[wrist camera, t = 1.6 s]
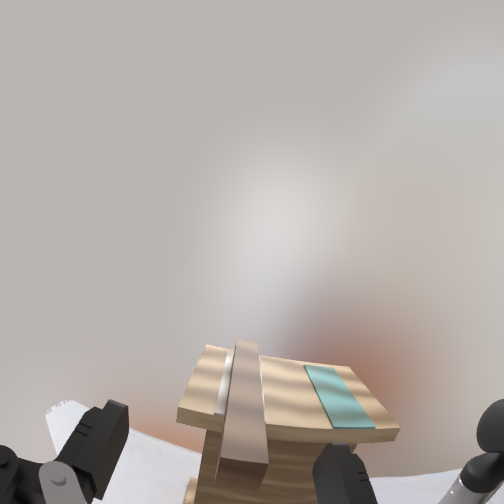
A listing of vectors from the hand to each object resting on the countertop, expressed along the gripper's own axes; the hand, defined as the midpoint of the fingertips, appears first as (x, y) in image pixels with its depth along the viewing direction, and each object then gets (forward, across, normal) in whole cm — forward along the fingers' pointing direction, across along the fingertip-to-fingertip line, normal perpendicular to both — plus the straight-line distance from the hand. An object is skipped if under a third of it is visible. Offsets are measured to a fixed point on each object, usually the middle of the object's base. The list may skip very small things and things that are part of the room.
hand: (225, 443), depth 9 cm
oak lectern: (+15, -10, +44) cm, 48 cm away
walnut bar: (+16, -3, +12) cm, 20 cm away
